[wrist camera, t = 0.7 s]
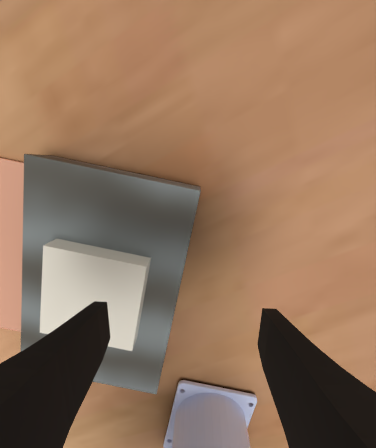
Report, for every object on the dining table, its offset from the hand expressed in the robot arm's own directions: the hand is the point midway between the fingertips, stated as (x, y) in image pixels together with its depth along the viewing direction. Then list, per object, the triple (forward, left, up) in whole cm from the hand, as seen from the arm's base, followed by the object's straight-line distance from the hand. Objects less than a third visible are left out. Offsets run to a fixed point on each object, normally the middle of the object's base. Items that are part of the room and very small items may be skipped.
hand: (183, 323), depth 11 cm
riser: (-4, +6, -9) cm, 12 cm away
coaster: (-4, +6, -6) cm, 10 cm away
